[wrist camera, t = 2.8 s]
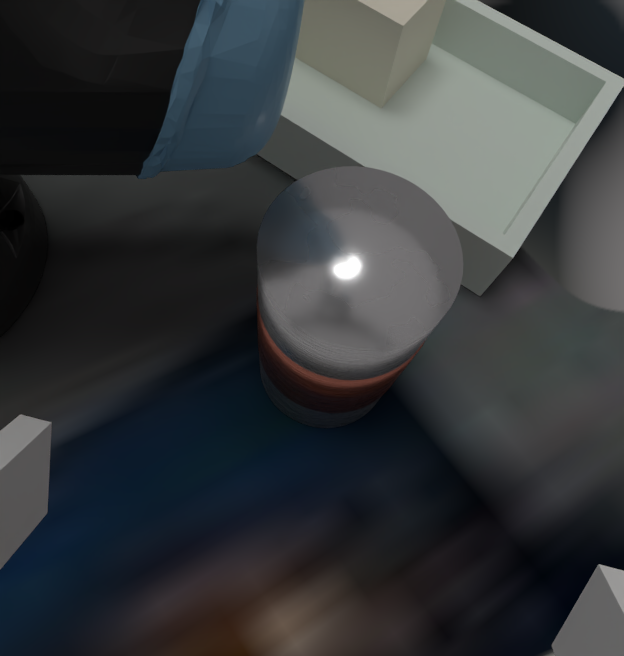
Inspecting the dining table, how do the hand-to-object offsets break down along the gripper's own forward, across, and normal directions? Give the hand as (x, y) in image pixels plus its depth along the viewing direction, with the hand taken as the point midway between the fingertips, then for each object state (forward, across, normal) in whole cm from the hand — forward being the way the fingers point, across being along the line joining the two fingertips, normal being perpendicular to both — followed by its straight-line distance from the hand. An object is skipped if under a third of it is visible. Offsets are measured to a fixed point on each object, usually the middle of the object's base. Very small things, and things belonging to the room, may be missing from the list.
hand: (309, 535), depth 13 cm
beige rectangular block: (+31, -3, +13) cm, 34 cm away
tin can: (+16, 0, -3) cm, 17 cm away
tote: (+29, 0, +10) cm, 30 cm away
